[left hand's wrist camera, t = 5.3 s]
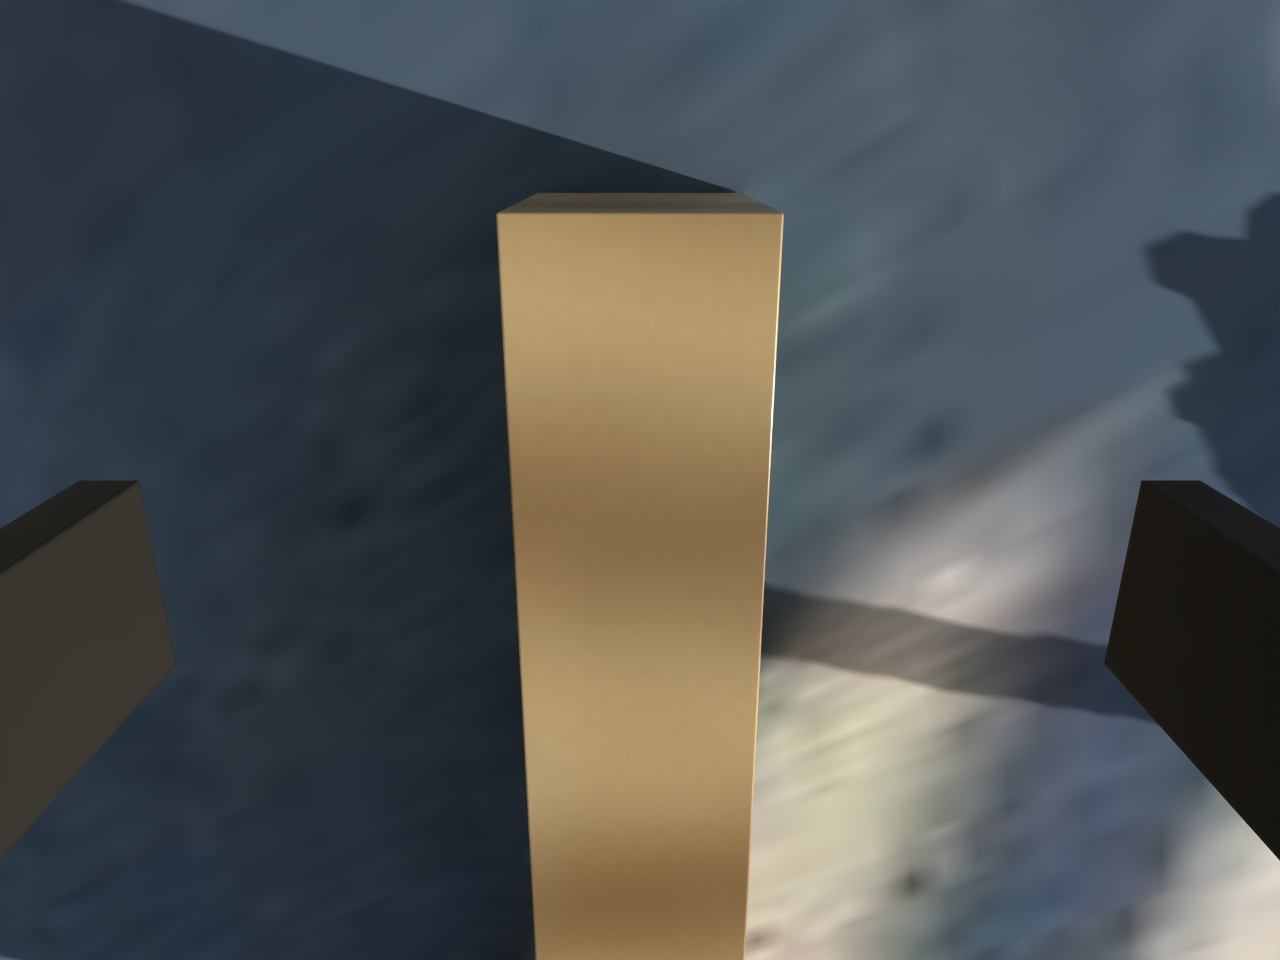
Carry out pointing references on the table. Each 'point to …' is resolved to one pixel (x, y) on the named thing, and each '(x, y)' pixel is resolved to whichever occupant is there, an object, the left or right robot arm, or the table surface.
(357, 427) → the table surface
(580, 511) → the ash beam
